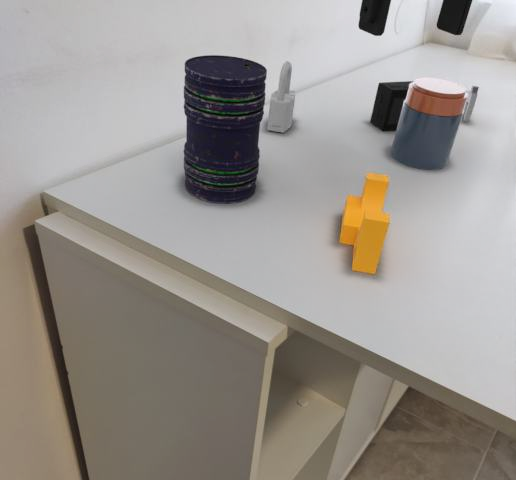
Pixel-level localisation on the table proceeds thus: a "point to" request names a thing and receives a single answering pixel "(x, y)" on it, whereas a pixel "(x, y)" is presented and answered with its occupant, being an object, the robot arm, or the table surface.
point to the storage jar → (223, 127)
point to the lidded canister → (428, 123)
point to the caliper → (470, 103)
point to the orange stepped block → (366, 223)
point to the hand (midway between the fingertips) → (410, 32)
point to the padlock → (282, 102)
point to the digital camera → (389, 104)
